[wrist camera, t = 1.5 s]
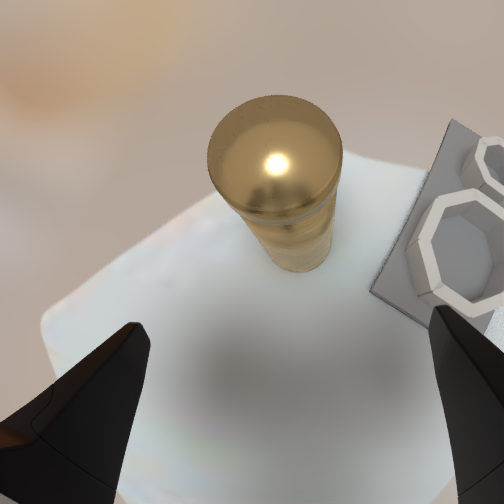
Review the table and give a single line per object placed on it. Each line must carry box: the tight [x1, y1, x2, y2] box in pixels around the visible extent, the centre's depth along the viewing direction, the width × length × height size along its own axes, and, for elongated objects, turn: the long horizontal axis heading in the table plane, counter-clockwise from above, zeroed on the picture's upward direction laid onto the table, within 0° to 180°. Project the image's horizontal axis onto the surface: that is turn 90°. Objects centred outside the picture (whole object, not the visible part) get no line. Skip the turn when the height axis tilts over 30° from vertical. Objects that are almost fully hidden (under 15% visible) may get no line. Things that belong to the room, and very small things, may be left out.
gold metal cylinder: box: [207, 95, 343, 272], centre depth 16 cm, size 5×5×12 cm
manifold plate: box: [369, 119, 504, 335], centre depth 18 cm, size 16×9×4 cm, turn 146°
